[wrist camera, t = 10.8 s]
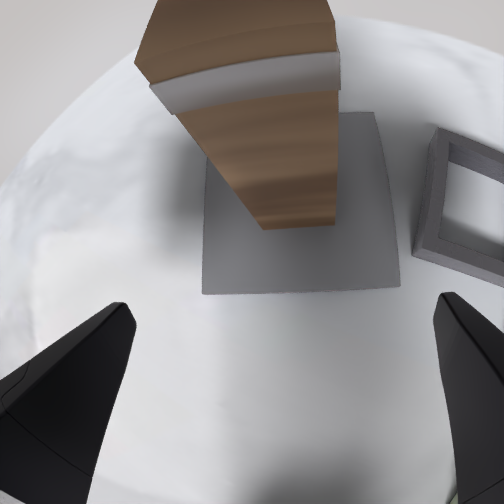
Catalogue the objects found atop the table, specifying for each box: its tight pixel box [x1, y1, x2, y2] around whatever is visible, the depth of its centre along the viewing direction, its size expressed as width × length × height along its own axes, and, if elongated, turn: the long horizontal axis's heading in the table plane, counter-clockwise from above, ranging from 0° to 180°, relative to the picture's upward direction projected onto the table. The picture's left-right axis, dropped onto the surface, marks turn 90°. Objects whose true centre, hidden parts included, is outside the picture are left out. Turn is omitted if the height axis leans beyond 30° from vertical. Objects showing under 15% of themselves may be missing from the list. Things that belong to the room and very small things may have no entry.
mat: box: [202, 112, 401, 295], centre depth 18 cm, size 11×11×1 cm
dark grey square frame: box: [412, 127, 504, 287], centre depth 14 cm, size 8×8×2 cm
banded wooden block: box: [134, 0, 341, 230], centre depth 11 cm, size 4×4×13 cm
